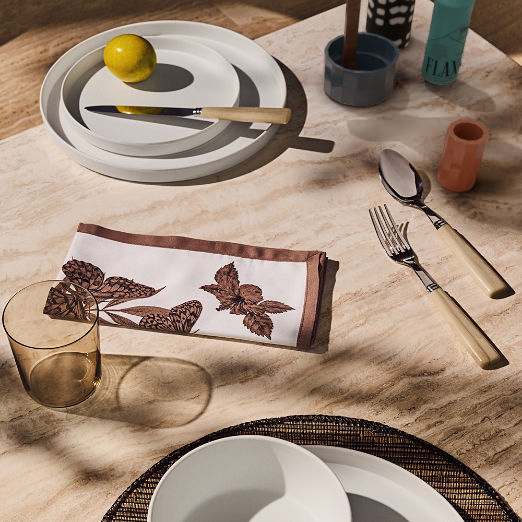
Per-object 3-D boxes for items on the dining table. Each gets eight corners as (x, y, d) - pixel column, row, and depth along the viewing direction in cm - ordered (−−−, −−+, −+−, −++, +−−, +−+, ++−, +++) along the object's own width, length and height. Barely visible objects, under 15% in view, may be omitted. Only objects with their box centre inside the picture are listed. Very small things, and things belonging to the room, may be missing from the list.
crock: (470, 166, 104) (483, 118, 97) (478, 191, 100) (493, 143, 93) (433, 167, 104) (444, 119, 97) (440, 192, 100) (452, 144, 93)
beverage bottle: (415, 88, 117) (434, -25, 102) (423, 68, 121) (443, -44, 106) (453, 96, 115) (478, -18, 100) (460, 75, 119) (486, -38, 104)
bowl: (388, 66, 122) (393, 30, 116) (398, 107, 114) (404, 71, 108) (320, 68, 122) (322, 33, 116) (325, 110, 114) (327, 74, 108)
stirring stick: (353, 69, 116) (365, -77, 98) (354, 76, 114) (367, -71, 96) (341, 69, 116) (351, -76, 98) (342, 76, 114) (353, -70, 96)
